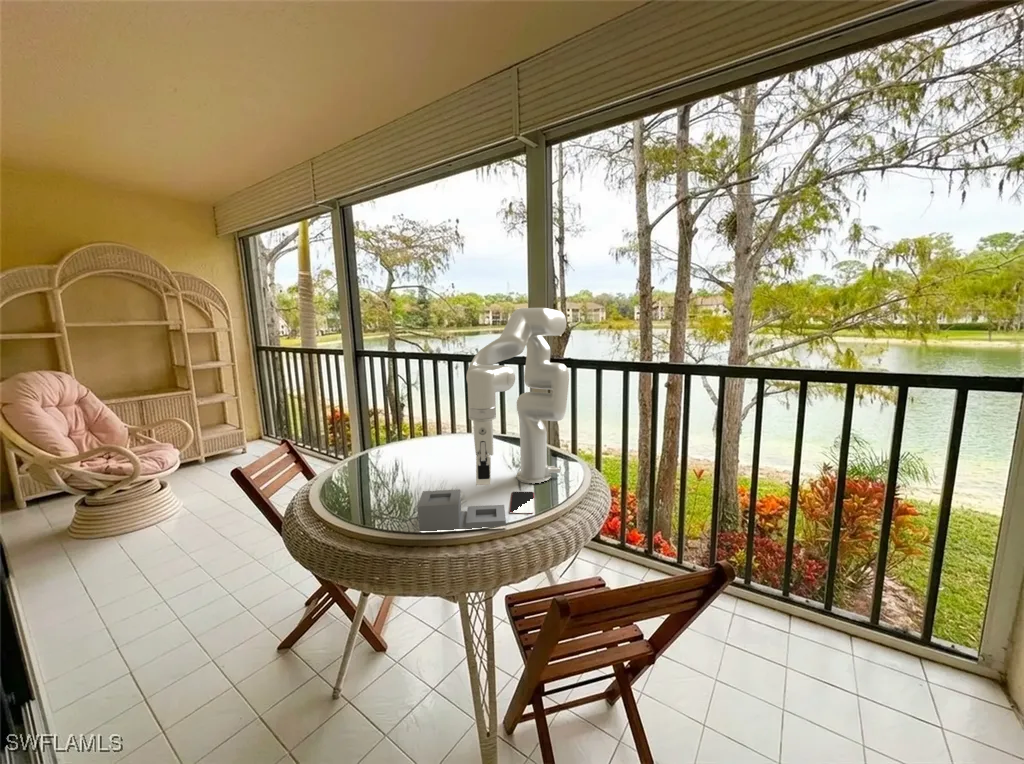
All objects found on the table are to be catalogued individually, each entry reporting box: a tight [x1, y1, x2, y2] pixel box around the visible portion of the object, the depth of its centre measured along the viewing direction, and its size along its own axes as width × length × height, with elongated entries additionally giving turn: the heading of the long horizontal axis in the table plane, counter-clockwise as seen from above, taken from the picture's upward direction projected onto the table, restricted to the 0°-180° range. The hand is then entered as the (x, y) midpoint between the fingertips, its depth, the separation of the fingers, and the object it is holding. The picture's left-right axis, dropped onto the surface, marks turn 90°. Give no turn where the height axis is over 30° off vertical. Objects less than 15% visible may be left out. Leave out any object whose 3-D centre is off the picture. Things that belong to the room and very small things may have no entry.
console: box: [417, 489, 507, 532], centre depth 121 cm, size 24×10×8 cm, turn 94°
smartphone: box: [509, 491, 535, 513], centre depth 134 cm, size 7×1×15 cm
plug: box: [475, 453, 492, 486], centre depth 119 cm, size 4×3×9 cm
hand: (483, 475), depth 120 cm, fingers closed on plug, 3 cm apart
